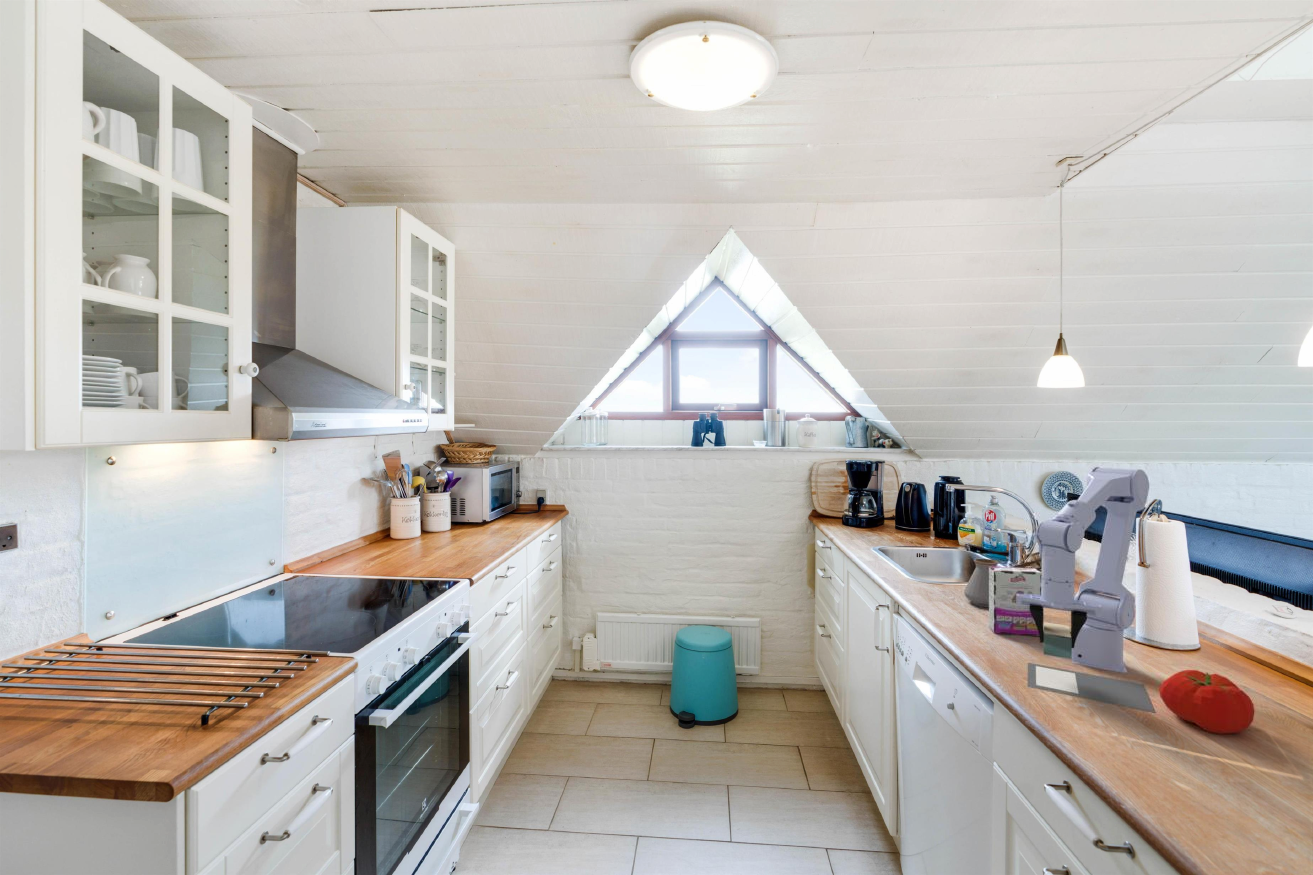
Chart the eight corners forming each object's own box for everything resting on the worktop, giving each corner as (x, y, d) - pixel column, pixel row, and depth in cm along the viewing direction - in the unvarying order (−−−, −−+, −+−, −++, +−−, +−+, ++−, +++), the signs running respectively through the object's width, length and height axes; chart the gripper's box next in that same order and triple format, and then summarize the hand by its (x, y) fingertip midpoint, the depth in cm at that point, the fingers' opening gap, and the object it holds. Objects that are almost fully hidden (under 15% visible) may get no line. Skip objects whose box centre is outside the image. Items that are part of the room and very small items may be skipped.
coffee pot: (965, 606, 171) (966, 556, 170) (961, 596, 181) (962, 548, 181) (1051, 616, 163) (1052, 562, 162) (1042, 604, 173) (1043, 554, 173)
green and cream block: (1043, 640, 126) (1043, 621, 126) (1068, 644, 124) (1069, 625, 124) (1043, 654, 119) (1044, 634, 119) (1071, 659, 116) (1071, 639, 116)
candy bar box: (1034, 630, 151) (1036, 567, 151) (1042, 637, 146) (1044, 572, 146) (987, 626, 154) (988, 565, 154) (993, 633, 149) (994, 569, 149)
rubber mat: (1027, 688, 118) (1027, 685, 118) (1027, 664, 130) (1027, 661, 130) (1155, 714, 108) (1155, 712, 107) (1143, 686, 119) (1143, 683, 119)
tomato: (1157, 700, 113) (1158, 657, 113) (1248, 721, 105) (1249, 675, 105) (1160, 727, 103) (1161, 679, 103) (1260, 752, 95) (1261, 700, 95)
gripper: (1016, 578, 122) (1015, 642, 122) (1103, 589, 114) (1102, 657, 114) (1017, 571, 127) (1016, 632, 128) (1100, 580, 120) (1098, 646, 120)
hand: (1056, 643), depth 121 cm, fingers closed on green and cream block, 4 cm apart
